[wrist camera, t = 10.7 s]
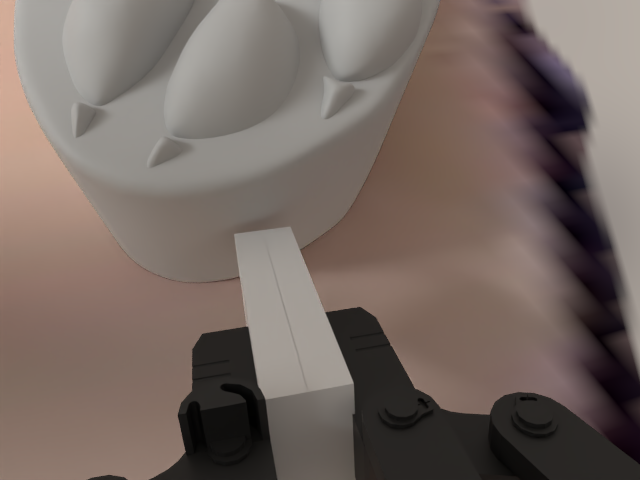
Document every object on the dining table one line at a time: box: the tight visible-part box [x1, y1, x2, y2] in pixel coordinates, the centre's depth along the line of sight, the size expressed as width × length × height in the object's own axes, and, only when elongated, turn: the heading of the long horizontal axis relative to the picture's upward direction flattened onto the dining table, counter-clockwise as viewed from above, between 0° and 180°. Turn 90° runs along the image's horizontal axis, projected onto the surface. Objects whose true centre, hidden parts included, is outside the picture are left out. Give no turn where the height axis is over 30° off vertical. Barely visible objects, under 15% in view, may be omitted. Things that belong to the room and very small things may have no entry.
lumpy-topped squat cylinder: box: [14, 0, 440, 283], centre depth 17 cm, size 10×13×9 cm
